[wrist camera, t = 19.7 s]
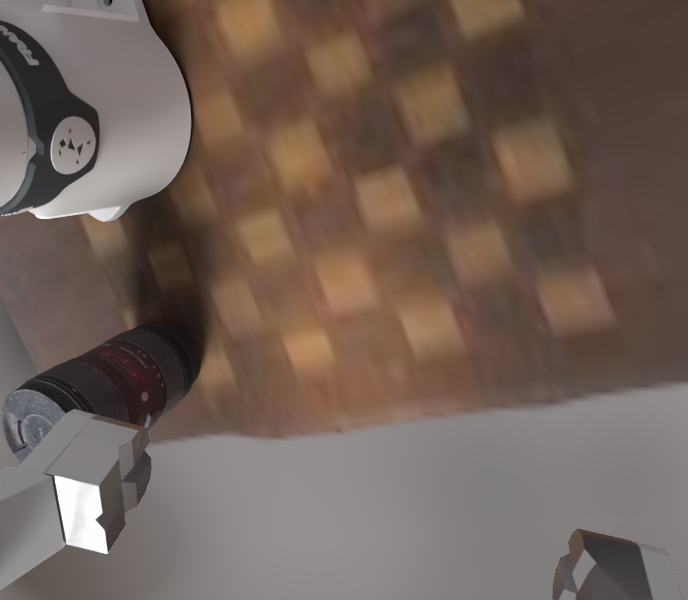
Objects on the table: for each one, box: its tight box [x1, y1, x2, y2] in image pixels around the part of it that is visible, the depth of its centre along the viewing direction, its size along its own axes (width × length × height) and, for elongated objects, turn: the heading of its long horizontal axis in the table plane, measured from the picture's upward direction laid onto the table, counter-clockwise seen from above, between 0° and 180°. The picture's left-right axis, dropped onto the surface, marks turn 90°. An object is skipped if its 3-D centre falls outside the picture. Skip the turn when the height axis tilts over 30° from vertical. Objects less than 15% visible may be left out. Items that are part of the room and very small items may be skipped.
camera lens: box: [1, 323, 200, 464], centre depth 50 cm, size 8×8×15 cm
